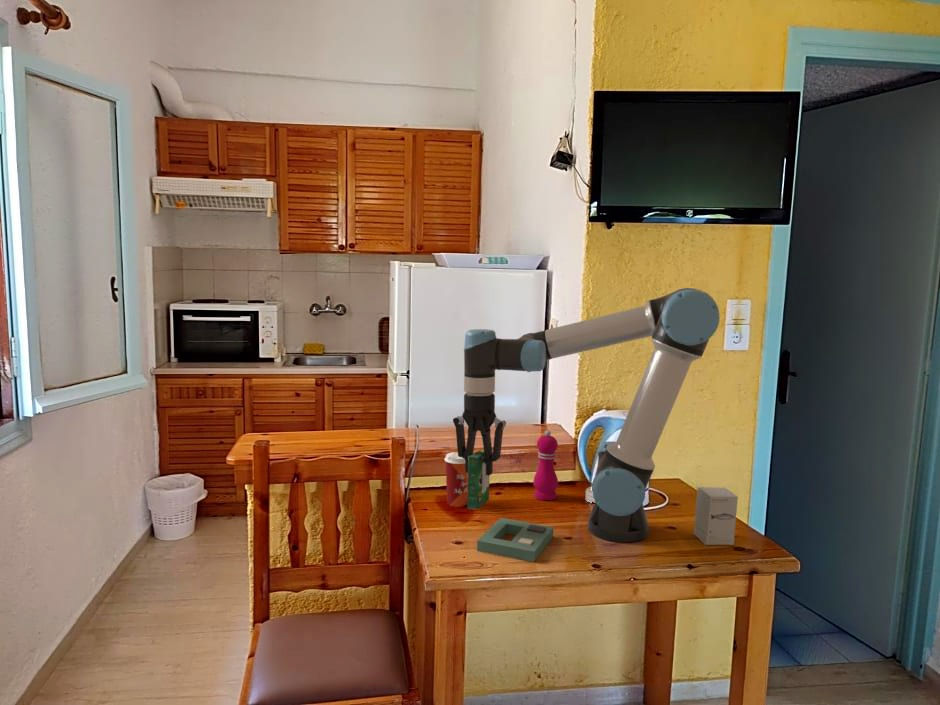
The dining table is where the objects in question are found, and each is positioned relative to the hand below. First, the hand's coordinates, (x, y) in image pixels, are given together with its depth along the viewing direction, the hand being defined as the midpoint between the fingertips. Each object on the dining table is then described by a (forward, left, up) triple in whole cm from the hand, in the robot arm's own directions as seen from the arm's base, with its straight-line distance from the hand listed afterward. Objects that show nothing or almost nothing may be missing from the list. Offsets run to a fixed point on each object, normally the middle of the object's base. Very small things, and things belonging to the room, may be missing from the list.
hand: (478, 486), depth 165 cm
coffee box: (0, 0, -5) cm, 5 cm away
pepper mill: (-8, -34, -13) cm, 37 cm away
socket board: (-11, +1, -12) cm, 16 cm away
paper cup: (+13, -18, -13) cm, 26 cm away
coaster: (-24, -38, -13) cm, 46 cm away
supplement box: (-55, -23, -13) cm, 61 cm away
